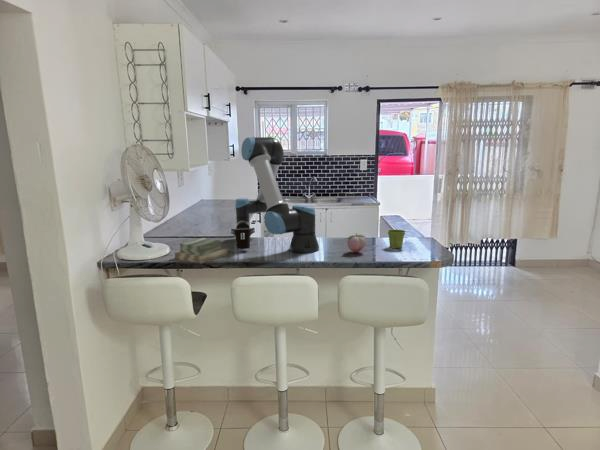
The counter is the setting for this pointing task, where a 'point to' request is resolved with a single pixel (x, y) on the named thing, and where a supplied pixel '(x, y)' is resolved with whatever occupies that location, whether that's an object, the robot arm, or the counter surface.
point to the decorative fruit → (356, 243)
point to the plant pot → (396, 238)
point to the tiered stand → (200, 250)
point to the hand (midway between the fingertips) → (242, 236)
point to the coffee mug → (242, 242)
